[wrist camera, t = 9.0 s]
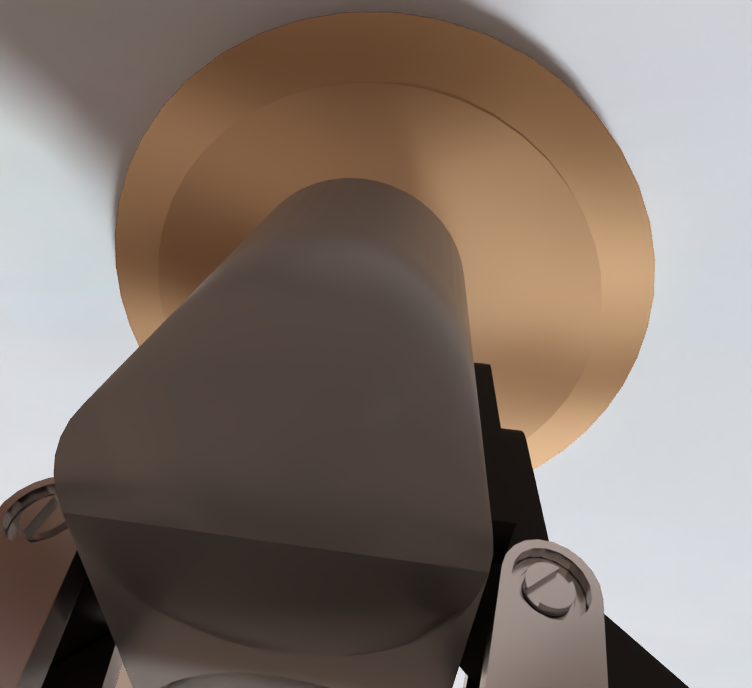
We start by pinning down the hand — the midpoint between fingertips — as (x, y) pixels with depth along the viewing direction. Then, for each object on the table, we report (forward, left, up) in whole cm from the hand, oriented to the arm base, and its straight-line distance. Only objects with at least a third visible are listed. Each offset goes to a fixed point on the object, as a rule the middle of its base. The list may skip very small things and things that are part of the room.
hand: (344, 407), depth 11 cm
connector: (+1, 0, -1) cm, 2 cm away
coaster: (0, 0, -4) cm, 4 cm away
